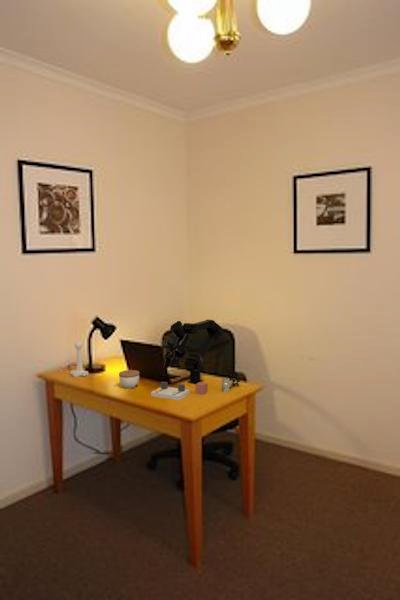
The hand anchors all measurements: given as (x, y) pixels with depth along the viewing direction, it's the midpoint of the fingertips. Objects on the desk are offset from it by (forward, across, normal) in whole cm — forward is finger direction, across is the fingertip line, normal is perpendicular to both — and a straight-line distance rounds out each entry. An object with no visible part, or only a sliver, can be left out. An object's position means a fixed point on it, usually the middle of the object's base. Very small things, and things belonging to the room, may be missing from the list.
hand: (167, 367), depth 235 cm
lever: (+6, +1, +12) cm, 14 cm away
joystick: (+12, -58, -31) cm, 67 cm away
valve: (-8, +4, +33) cm, 35 cm away
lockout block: (+2, +3, +22) cm, 22 cm away
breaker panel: (+10, -2, +9) cm, 14 cm away
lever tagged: (+7, -7, +6) cm, 11 cm away
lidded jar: (+11, -24, -7) cm, 28 cm away
